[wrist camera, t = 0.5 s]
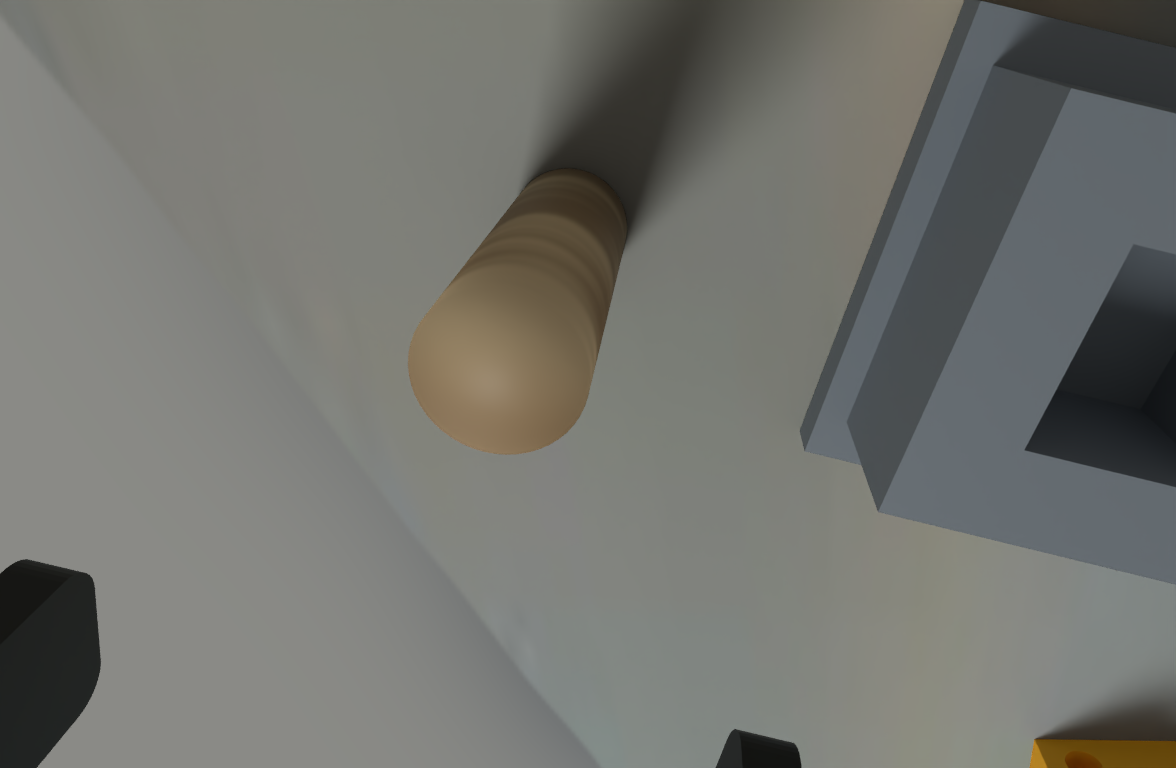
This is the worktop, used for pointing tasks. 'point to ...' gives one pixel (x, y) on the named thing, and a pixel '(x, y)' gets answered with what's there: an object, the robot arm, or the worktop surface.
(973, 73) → the socket block
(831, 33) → the worktop surface
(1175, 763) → the pipe clamp
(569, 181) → the oak peg
